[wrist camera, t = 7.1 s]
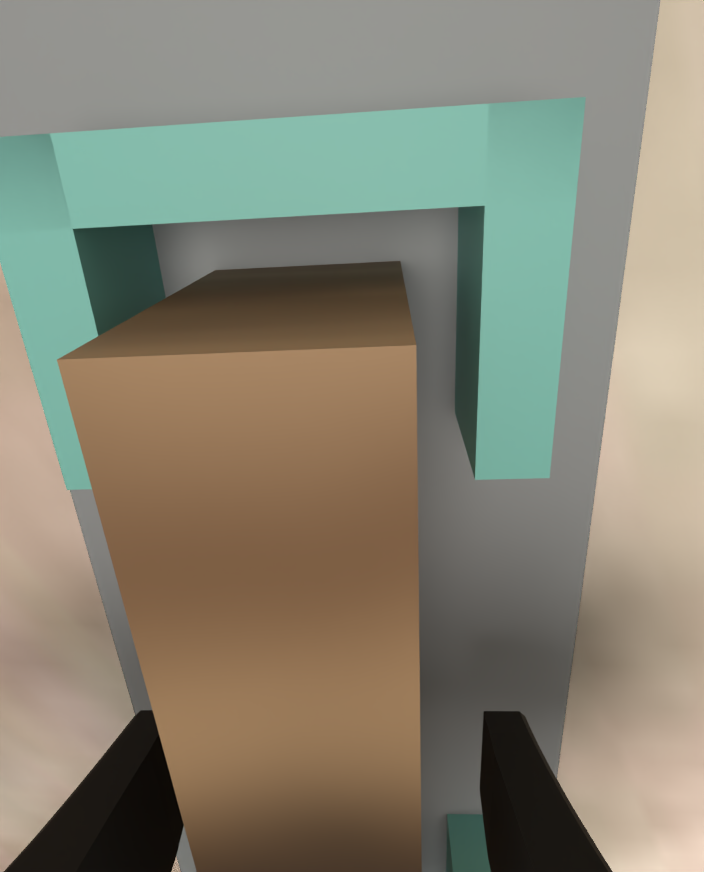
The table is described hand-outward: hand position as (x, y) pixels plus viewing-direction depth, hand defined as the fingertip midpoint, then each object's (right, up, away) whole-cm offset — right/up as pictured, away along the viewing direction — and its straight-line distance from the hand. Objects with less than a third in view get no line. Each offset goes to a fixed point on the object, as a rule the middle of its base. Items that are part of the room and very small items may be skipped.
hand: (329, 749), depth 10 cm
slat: (0, +1, +2) cm, 2 cm away
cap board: (0, +1, +3) cm, 3 cm away
